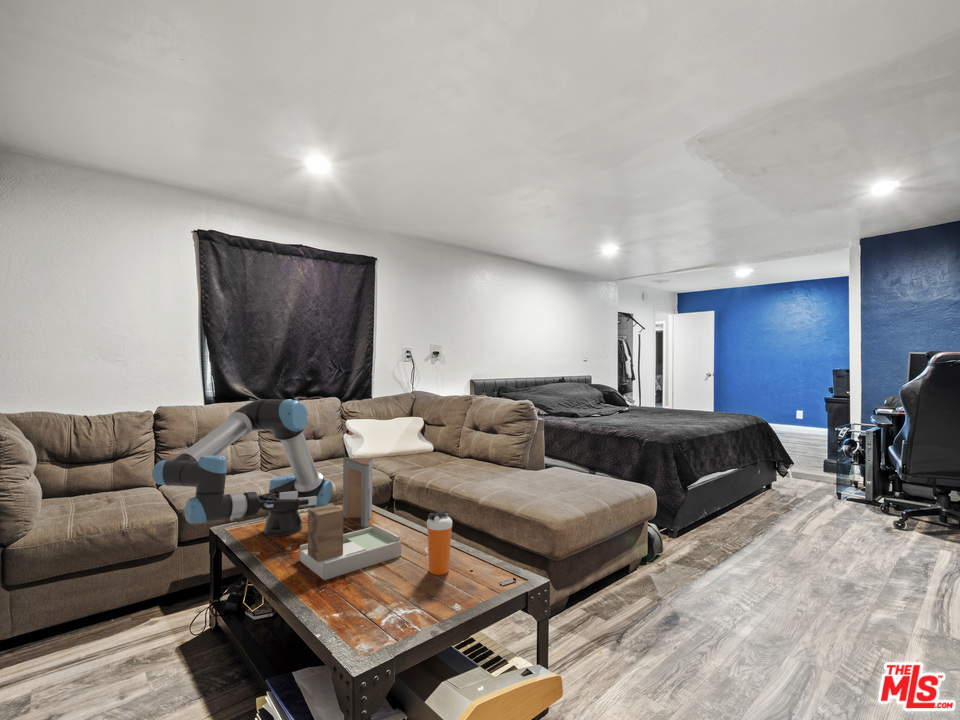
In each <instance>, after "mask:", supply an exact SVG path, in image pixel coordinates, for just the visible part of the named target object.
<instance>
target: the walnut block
mask: <svg viewBox="0 0 960 720" xmlns="http://www.w3.org/2000/svg"><path fill="white" fill-rule="evenodd" d="M307 512H308V514H307V524H308V525H307V543H308V555H310V556H311V557H312V558H314V559H315V560H316V561H318V562H320V561H324V560H327V559H331V558H334V557H338V556H341V555H343V534H344V518H343V508H340V507H339V506H336V505H334V504H327V505H326V506H321V507H316V508H307Z"/></svg>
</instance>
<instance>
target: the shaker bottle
mask: <svg viewBox="0 0 960 720" xmlns="http://www.w3.org/2000/svg"><path fill="white" fill-rule="evenodd" d="M449 514H450V512H449V511H448V510H440V511H438V512H435V513H431V512H430V513H429V514H428V519H427V520H426V528H427V549H428V550H427V551H428V572H429V573H430V574H432V575H435V576H443V575H446V574H448V573H449V572H450V565H451V564H450V563H451V546H452V539H451V538H452V528H453V520H452V518H451V517H450V516H449Z"/></svg>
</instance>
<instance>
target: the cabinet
mask: <svg viewBox="0 0 960 720" xmlns="http://www.w3.org/2000/svg"><path fill="white" fill-rule="evenodd" d="M342 459H343V461H342V462H343V463H342V464H343V469H342V471H343V474H342V489H343V490H342V509H343V519H346V520H348V521H349V522H351V523H353V524H355V525H357V526H359V527H360V528H363V529H366V528H369V522H370V521H371V520H372V518H373V511H372V510H373V458H372V457H348V456H346V457H343V458H342Z"/></svg>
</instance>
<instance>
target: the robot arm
mask: <svg viewBox="0 0 960 720" xmlns="http://www.w3.org/2000/svg"><path fill="white" fill-rule="evenodd" d="M308 420H309V418H308V409H307V407H306V405H305V404H304V403H303V402H301V401H300V400H297V399H268V398H267V399H266V398H263V399H256V400H253V401H251V402H249V403H247V404H245V405H243V406H241V407H239V408H238V409H236V410H235V411H233V412H231V414H229V415H228V417H227V420H225V421H224V422H222V423H221V424H220V425H219V426H217V427H215V428H214V429H213V430H212V431H210V432H209V433H207V434H206V435H205V436H204V437H202V438H200V440H198V441H196V442H195V443H194V444H193V445H191V446H190V447H188V448H187V449H185V450H184V451H183V452H181V453H180V454H179V455H177V456H176V457H174V458H173V459H163V460H160V461H158V462H157V463H156V464H155V465H154V466H153V467H152V471H151V477H152V481H154V483H155V484H157V485H161V486H163V485H164V486H166V487H169V486H170V487H172V486H173V487H189V488H191V487H192V488H195V489H196V490H195V496H193V497H189V498H188V499H187V500H186V502H185V506H184V518H185V521H186V522H187V523H188V524H201V523H203V524H206V523H211V522H217V521H218V522H219V521H223V520H224V521H226V520H230V521H231V522H232V521H234V519H240V518H242V517H243V518H248V517H249V518H250V517H255V516H256V515H257V514H258V513H259V510H260V509H262V510H264V511H268V516H267V517H266V522H265V525H264V528H263V529H264V531H263V533H264V534H265V535H266V536H271V537H285V536H289V535H293V534H296V533H298V532H300V531H302V529H303V521H302V519H301V518H302V517H301V515H300V512H299V509H300V508H304V509H312V508H316V507H321V506H326V505H329V503H330V501H331V498H332V494H333V483H332V481H331V480H328V479H327V480H326V479H325V478H324V475H323V474H322V473H321V472H320V471H318V470H317V468H316V466H315V465H316V464H315V461H314V459H313V457H312V454H311V451H310V449H309V445H308V443H307V439H306V437H305V435H304V434H305V433H304V431H305V428H306V427H307V425H308ZM260 430H264V431H272V434H273V437H274V438H275V439H276V440H278V441H280V443H281V445H282V447H283V449H284V452H285V454H286V457H287V460H288V462H289V465H290V467H291V470H292V473H293V474H285V475H280V476H278V477H277V476H276V477H274V478H272V479H271V480H270V481H269V486H268V487H269V488H268V491H269V492H267V493H263V494H258V493H257V491H249V492H248V491H246V492H243V493H242V492H235V493H228V494H227V493H226V494H225V490H226V478H227V472H228V471H227V463H228V462H227V457H225V456H224V455H220V454H221V453H222V452H223V451H224V450H226V449H227V448H228V447H229V446H231V445H232V444H233V443H235V442H236V441H237V440H238V439H239V438H241V437H242V436H247V435H248V434H251V432H254V431H260Z"/></svg>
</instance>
